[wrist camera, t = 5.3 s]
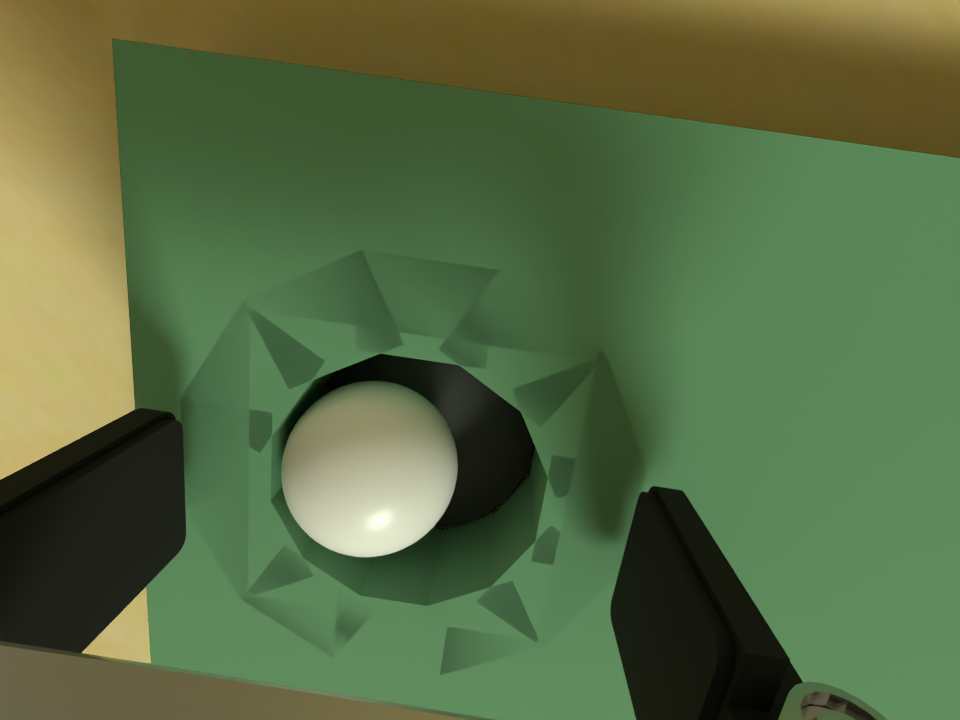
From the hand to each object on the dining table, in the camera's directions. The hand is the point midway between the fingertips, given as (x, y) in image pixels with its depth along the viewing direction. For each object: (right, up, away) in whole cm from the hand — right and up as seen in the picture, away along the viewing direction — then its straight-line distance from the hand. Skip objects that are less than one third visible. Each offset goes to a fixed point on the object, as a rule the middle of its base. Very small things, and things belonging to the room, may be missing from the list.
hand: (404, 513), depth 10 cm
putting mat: (+7, 0, +4) cm, 8 cm away
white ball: (-1, +1, +2) cm, 2 cm away
